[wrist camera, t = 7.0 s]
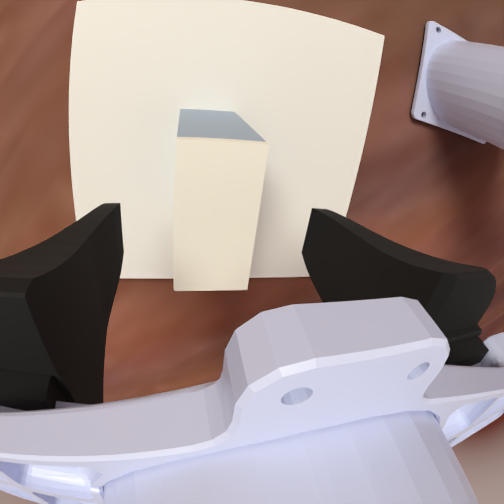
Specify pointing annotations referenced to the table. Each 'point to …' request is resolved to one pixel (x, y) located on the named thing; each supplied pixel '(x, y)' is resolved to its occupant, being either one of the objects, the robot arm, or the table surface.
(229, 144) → the block
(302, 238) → the tile
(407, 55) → the table surface
